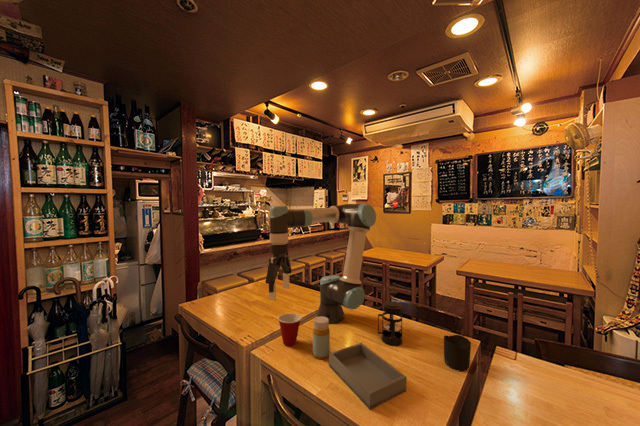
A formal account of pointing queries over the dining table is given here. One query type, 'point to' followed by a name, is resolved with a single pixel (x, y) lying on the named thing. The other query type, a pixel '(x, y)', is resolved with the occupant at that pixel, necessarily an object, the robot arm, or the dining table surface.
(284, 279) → the robot arm
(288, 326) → the plastic cup
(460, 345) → the pen holder
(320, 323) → the bottle
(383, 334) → the french press
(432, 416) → the dining table surface
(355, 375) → the crate
